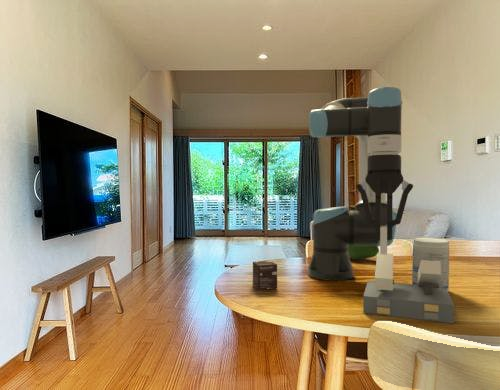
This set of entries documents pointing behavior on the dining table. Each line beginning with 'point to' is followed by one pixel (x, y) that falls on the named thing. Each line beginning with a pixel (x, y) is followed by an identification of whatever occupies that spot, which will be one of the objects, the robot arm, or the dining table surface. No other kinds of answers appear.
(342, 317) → the dining table surface
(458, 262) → the dining table surface
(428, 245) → the supplement tub
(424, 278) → the switch right
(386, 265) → the switch left
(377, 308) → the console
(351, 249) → the fruit
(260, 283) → the box
